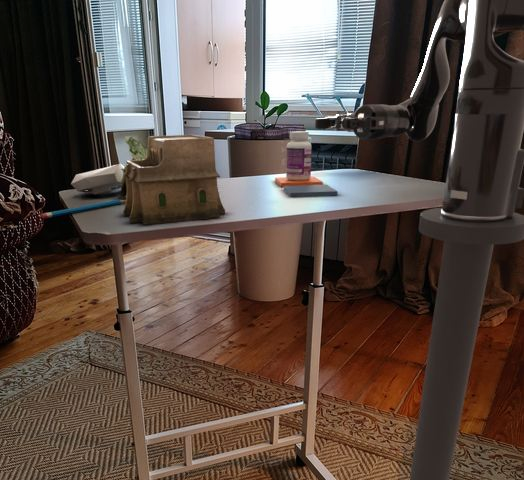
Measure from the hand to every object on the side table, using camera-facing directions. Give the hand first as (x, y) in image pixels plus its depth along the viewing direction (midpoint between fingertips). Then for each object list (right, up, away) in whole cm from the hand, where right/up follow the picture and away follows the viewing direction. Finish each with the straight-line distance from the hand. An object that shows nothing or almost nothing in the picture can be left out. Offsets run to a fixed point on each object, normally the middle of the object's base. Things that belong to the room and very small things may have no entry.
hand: (330, 124), depth 111 cm
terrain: (-36, -18, -19) cm, 45 cm away
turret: (-45, -18, -7) cm, 49 cm away
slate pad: (-6, -19, -12) cm, 23 cm away
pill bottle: (-7, -13, -1) cm, 15 cm away
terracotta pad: (-7, -13, -1) cm, 15 cm away
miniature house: (-30, -28, -29) cm, 50 cm away
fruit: (-38, -21, -16) cm, 46 cm away
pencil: (-45, -25, -25) cm, 58 cm away
